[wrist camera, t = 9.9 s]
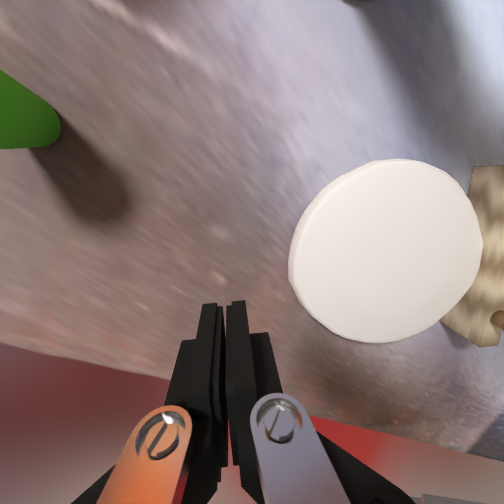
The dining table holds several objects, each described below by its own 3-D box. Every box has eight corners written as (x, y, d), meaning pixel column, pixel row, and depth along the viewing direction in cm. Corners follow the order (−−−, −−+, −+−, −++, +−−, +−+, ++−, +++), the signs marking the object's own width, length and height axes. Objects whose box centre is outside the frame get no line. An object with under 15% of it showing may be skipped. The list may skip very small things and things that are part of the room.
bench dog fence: (473, 166, 34) (568, 161, 25) (492, 165, 35) (592, 160, 25) (439, 321, 42) (502, 362, 33) (454, 319, 43) (521, 359, 33)
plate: (256, 300, 32) (373, 108, 27) (254, 283, 38) (348, 125, 33) (418, 382, 36) (548, 229, 30) (392, 354, 42) (496, 223, 37)
